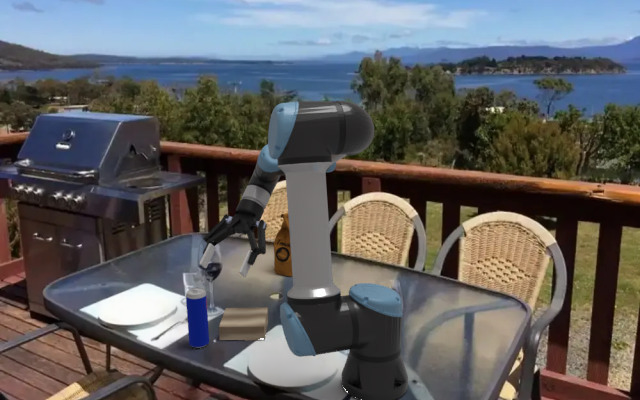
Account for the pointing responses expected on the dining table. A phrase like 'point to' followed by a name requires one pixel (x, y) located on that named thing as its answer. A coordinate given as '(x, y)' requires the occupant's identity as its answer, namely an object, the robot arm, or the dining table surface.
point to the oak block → (243, 324)
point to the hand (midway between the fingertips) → (222, 270)
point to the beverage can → (197, 317)
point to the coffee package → (283, 249)
